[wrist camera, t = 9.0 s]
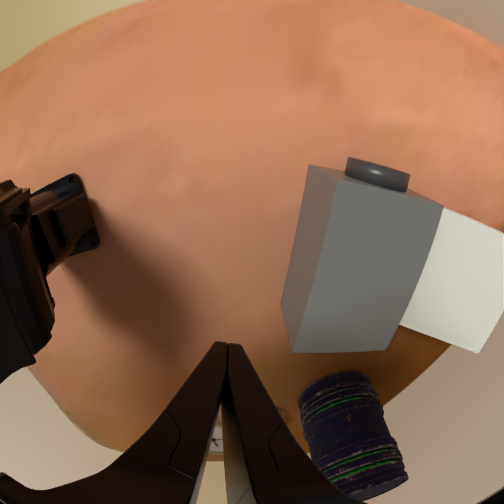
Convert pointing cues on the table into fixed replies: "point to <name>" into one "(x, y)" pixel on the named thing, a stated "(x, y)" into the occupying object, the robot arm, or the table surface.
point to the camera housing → (355, 257)
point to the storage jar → (350, 435)
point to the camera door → (460, 284)
